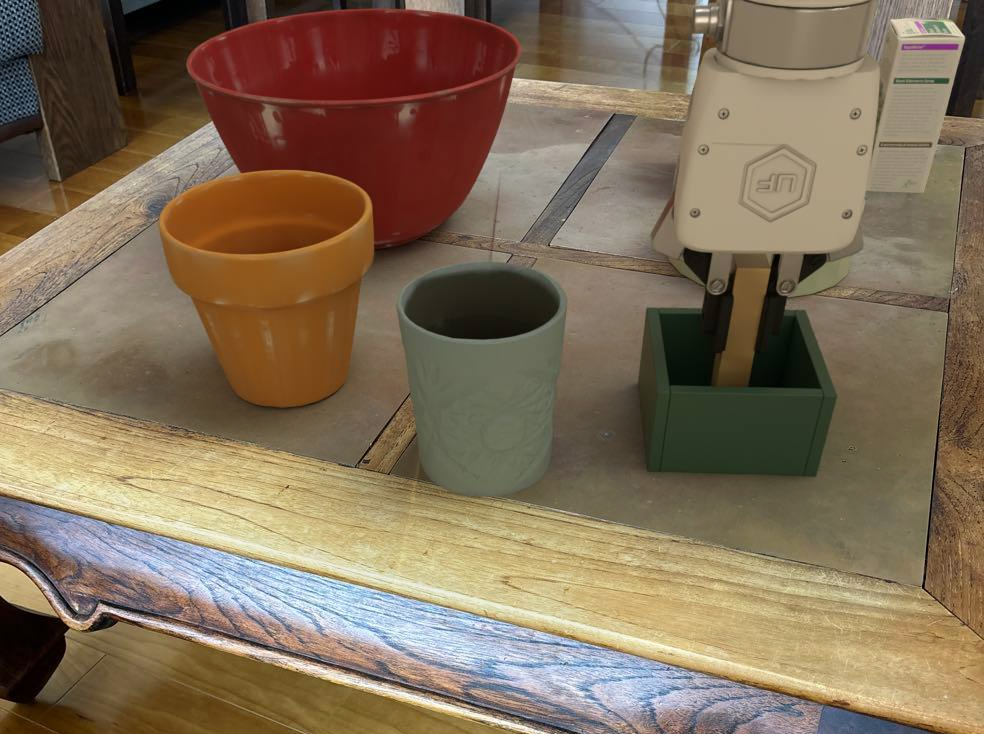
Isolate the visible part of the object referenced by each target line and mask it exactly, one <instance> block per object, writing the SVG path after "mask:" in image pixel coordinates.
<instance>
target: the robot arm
mask: <svg viewBox="0 0 984 734" xmlns="http://www.w3.org/2000/svg"><path fill="white" fill-rule="evenodd" d="M878 1H879V0H717V1H716V3H709V2H708V4H709V5H708V4H707V5H694V6H693V9H692V10H693V11H692V16H691V34H692V35H703V34H706V37H712V38H713V40H714V43H717V47H716V48H711V49H709V50H707V51H706V52H705V54H704V56H703V59H702V62H701V65H700V67H699V70H698V69H697V70H698V74H697V73H696V76H697V77H696V76H695V79H694V80H695V81H694V84H693V87H692V91H691V95H690V98H689V102H688V106H687V110H686V114H685V118H684V123H683V128H682V132H681V133H682V134H681V138H680V142H679V149H678V154H677V158H676V163H675V164H676V165H675V169H674V177H673V182H672V188H671V189H672V190H671V196H670V198H669V200H668V201H667V203H666V205H665V207H664V209H663V210H662V212H661V214H660V216H659V218H658V219H657V221H656V223H655V225H654V226H653V228H652V230H651V232H650V235H649V239H650V245H651V248H652V250H653V251H655V252H656V253H659V254H661V255H664V256H666V257H667V258H668V257H671V258H673V259H675V260H680V261H682V262H685V264H686V265H687V266H688V267H689V268H690V269H691V271H692V272H693V273H694V274H695V275H696V276H697V277H698V278H699V279H700V280H701V281H702V282H703V283H704V284H705V285H706V286H704V288H705V289H704V293H703V301H702V306H701V308H702V313H701V322H700V328H701V333H702V334H709V338H710V343H711V347H712V352H713V353H722V351H725V349H726V343H727V337H728V331H729V326H730V320H731V314H732V309H733V303H734V295H733V294H732V292H731V288H730V287H731V280H730V276H729V275H730V269H731V263H732V258H733V253H750V254H772V256H771V261H770V268H771V271H770V276H769V281H768V286H767V291H766V295H765V297H764V302H763V307H762V312H761V317H760V322H759V328H758V333H757V338H756V343H755V348H754V351H755V352H757V353H758V354H767V352H768V348H769V343H770V338H771V335H779V333H780V330H781V325H782V320H783V315H784V311H785V310H786V305H787V300H788V298H787V296H789V295H791V294H793V293H794V292H795V291H796V289H797V285H798V284H799V283H800V282H802V281H803V280H804V279H806V278H807V277H808V276H810V275H811V274H813V273H814V272H815V271H817V270H818V269H819V268H821V267H822V266H823V265H824V264H825V263H827V262H833V261H836V260H839V259H842V258H845V257H848V256H851V255H852V256H854V255H857V254H860V253H861V251H862V250H863V249H864V246H865V245H864V244H865V243H864V237H863V234H862V233H863V232H862V227H861V223H860V217H861V213H862V208H863V203H864V200H865V198H866V192H867V191H866V187H867V181H868V175H869V168H870V162H871V156H872V149H873V142H874V135H875V127H876V118H877V110H878V98H879V81H880V61H878V60H877V59H876V58H874V56H872V54H870V53H868V52H867V49H868V46H869V45H868V44H869V40H870V36H871V30H872V28H873V23H874V20H875V19H874V18H875V14H876V9H877V5H878Z"/></svg>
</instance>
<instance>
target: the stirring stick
mask: <svg viewBox="0 0 984 734" xmlns="http://www.w3.org/2000/svg"><path fill="white" fill-rule="evenodd" d="M770 271H771V268H770V265H769V262H768V259H767V256H766V254H733V258H732V263H731V269H730V275H729V276H730V280H731V287H730V288H731V292H732V294H733V295H734V303H733V309H732V314H731V320H730V326H729V331H728V337H727V343H726V349H725V351H722V353H716V356H715V362H714V368H713V374H712V380H711V386H716V387H748V383H749V378H750V373H751V368H752V363H753V358H754V353H755V351H754V348H755V343H756V338H757V333H758V328H759V322H760V317H761V312H762V307H763V302H764V297H765V295H766V291H767V286H768V281H769V276H770Z"/></svg>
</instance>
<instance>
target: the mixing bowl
mask: <svg viewBox="0 0 984 734" xmlns="http://www.w3.org/2000/svg"><path fill="white" fill-rule="evenodd" d="M522 55H523V48H522V45H521V43H520V41H519V39H518V38H517V37H515V35H514V34H512V33H511V32H509V31H508V30H506V29H504V28H502V27H500V26H498V25H496V24H493V23H490V22H487V21H484V20H481V19H477V18H474V17H469V16H466V15H461V14H455V13H447V12H440V11H432V10H422V9H407V8H402V9H401V8H355V9H353V8H352V9H349V8H348V9H334V10H324V11H315V12H314V11H313V12H306V13H299V14H291V15H285V16H281V17H280V16H279V17H275V18H270V19H265V20H260V21H256V22H253V23H248V24H245V25H242V26H238V27H236V28H233V29H230V30H227V31H225V32H221V33H220V34H217V35H216V36H213V37H210V38H209V39H207V40H206V41H204V42H202V43H201V44H199V45H198V46H197V47H195V49H193V50H192V51H191V52H190V53H189V55H188V56H187V59H186V65H185V66H186V69H187V72H188V74H189V76H190V77H191V78H192V79H193V80H194V81H195V84H196V86H197V89H198V91H199V93H200V96H201V98H202V101H203V103H204V106H205V107H206V110H207V112H208V115H209V116H210V119H211V121H212V123H213V126H214V128H215V130H216V132H217V133H218V136H219V138H220V140H221V142H222V143H223V146H224V147H225V149H226V151H227V152H228V155H229V156H230V158H231V160H232V161H233V163H234V165H235V166H236V168H237V170H238V171H239V174H242V173H248V172H256V171H268V170H300V171H311V172H318V173H323V174H328V175H332V176H336V177H339V178H342V179H345V180H347V181H350V182H352V183H354V184H356V185H357V186H359V187H360V188H362V189H363V190H364V191H365V192H366V193H367V195H368V196H369V198H370V200H371V202H372V212H373V228H374V250H378V249H380V250H381V249H385V248H391V247H398V246H401V245H405V244H408V243H412V242H413V241H416V240H418V239H420V238H422V237H423V236H426V235H427V234H429V233H430V232H431V231H432V230H434V229H435V228H437V227H439V226H440V225H442V224H443V223H444V222H446V221H448V220H449V219H450V218H451V217H452V216H454V214H455V213H456V212H457V211H458V209H459V208H460V207H461V206H462V205H463V203H465V200H466V199H467V197H468V196H469V194H470V193H471V191H472V189H473V187H474V186H475V184H476V182H477V180H478V178H479V176H480V174H481V171H482V170H483V167H484V165H485V163H486V161H487V159H488V156H489V154H490V152H491V150H492V147H493V144H494V141H495V140H496V137H497V134H498V132H499V129H500V125H501V122H502V120H503V116H504V113H505V109H506V106H507V102H508V100H509V99H508V98H509V95H510V91H511V87H512V84H513V79H514V74H515V70H516V66H517V65H518V64H519V62H520V60H521V58H522Z"/></svg>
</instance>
